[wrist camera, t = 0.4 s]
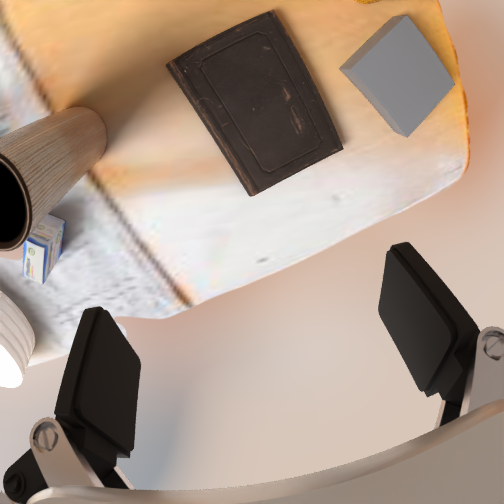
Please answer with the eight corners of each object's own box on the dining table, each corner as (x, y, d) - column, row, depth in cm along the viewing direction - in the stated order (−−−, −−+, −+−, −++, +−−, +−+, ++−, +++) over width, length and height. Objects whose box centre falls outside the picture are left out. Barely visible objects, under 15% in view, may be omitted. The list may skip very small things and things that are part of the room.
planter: (120, 145, 39) (51, 219, 20) (72, 181, 40) (-2, 268, 22) (86, 92, 33) (-12, 125, 15) (40, 132, 35) (-57, 194, 16)
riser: (338, 68, 36) (350, 69, 33) (392, 16, 31) (407, 14, 28) (394, 131, 43) (407, 137, 39) (440, 80, 38) (455, 84, 34)
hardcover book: (270, 12, 31) (273, 9, 29) (338, 145, 44) (343, 149, 42) (166, 65, 34) (164, 65, 32) (248, 192, 47) (249, 198, 45)
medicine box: (61, 255, 47) (43, 286, 40) (41, 248, 46) (21, 277, 39) (66, 219, 44) (45, 248, 37) (44, 211, 42) (22, 238, 35)
